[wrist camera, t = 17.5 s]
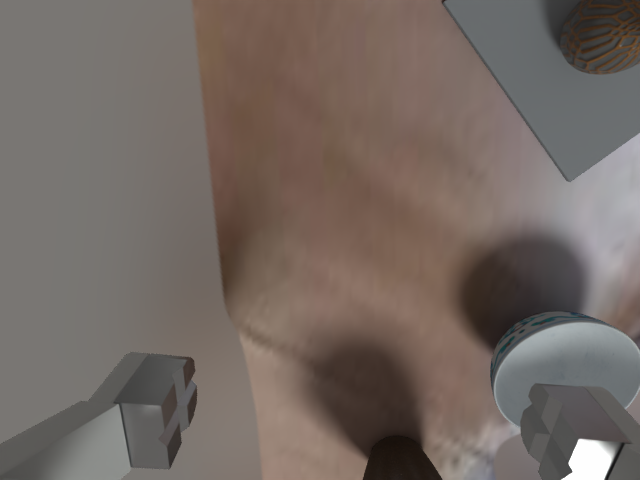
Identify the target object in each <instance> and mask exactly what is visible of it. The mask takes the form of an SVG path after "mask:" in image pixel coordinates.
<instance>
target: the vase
mask: <svg viewBox="0 0 640 480" xmlns="http://www.w3.org/2000/svg"><path fill="white" fill-rule="evenodd" d="M560 47H561V51H562V54H563V56H564V58H565V60H566V61H567V62H568V63H569V64H570V65H571V66H572V67H574V68H575V69H577V70H579V71H581V72H584V73H587V74H594V75H605V74H613V73H617V72H621V71H624V70H627V69H629V68H631V67H633V66H635V65H637V64H639V63H640V0H581V1H580V2H579V3H578V4H577V5H576V6H575V7H574V8H573V10H572V11H571V12H570V14H569V15H568V17H567V19H566V21H565V23H564V25H563V28H562V31H561V36H560Z"/></svg>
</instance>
